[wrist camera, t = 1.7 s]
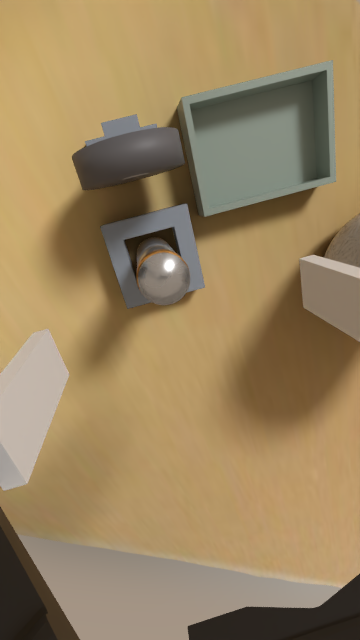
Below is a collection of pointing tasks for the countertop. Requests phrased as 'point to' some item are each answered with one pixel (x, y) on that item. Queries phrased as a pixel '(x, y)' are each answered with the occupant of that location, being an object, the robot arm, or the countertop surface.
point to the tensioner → (129, 165)
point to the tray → (260, 138)
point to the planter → (346, 244)
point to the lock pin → (161, 272)
